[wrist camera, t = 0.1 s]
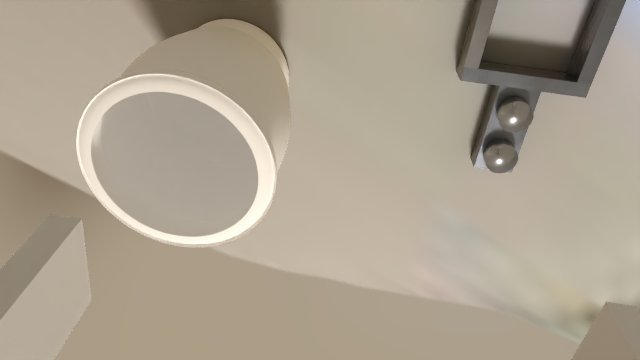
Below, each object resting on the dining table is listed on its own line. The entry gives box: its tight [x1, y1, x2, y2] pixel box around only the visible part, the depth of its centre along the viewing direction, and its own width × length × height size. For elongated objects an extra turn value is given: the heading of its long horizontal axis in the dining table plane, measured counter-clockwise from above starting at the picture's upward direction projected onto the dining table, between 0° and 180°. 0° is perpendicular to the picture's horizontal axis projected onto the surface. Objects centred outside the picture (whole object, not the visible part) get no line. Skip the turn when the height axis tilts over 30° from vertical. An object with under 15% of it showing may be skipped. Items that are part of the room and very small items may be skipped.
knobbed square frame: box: [456, 0, 626, 173], centre depth 34 cm, size 24×9×2 cm, turn 173°
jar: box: [76, 19, 291, 247], centre depth 33 cm, size 11×10×15 cm
